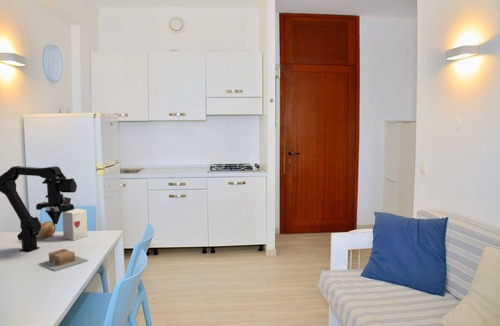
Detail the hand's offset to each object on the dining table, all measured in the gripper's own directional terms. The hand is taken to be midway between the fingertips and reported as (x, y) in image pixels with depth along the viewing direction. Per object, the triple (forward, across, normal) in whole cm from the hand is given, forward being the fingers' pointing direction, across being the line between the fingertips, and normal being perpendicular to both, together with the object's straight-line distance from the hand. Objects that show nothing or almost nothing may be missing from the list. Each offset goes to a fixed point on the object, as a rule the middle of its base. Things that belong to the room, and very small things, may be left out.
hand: (56, 224), depth 194 cm
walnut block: (+11, -12, +12) cm, 19 cm away
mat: (+13, -18, +13) cm, 26 cm away
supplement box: (+13, +8, -20) cm, 25 cm away
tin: (+13, +24, -14) cm, 31 cm away
